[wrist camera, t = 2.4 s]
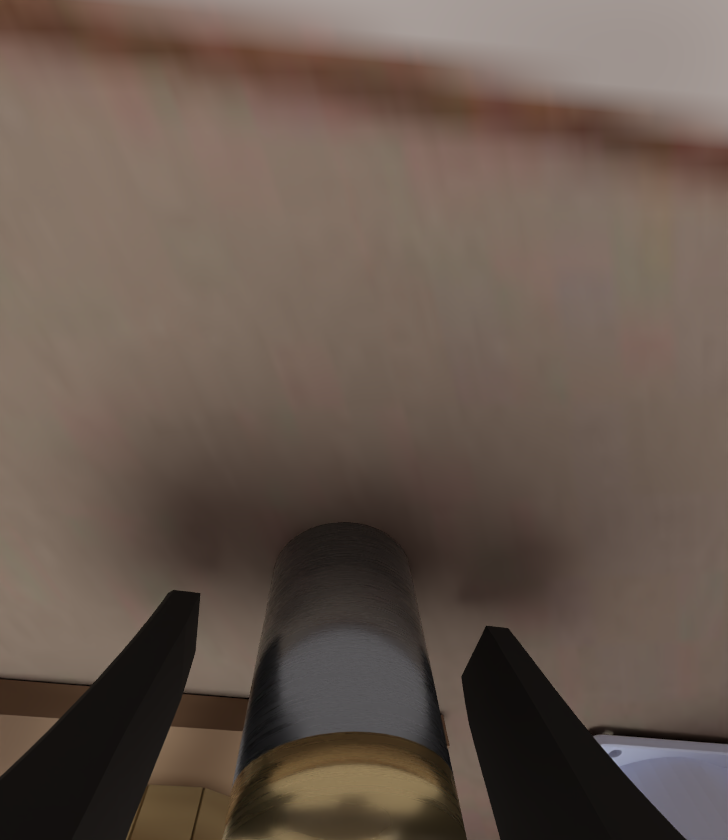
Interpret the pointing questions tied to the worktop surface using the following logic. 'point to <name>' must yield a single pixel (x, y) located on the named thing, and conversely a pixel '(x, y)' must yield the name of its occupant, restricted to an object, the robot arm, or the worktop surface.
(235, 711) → the shaft board
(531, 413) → the worktop surface
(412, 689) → the cylinder
